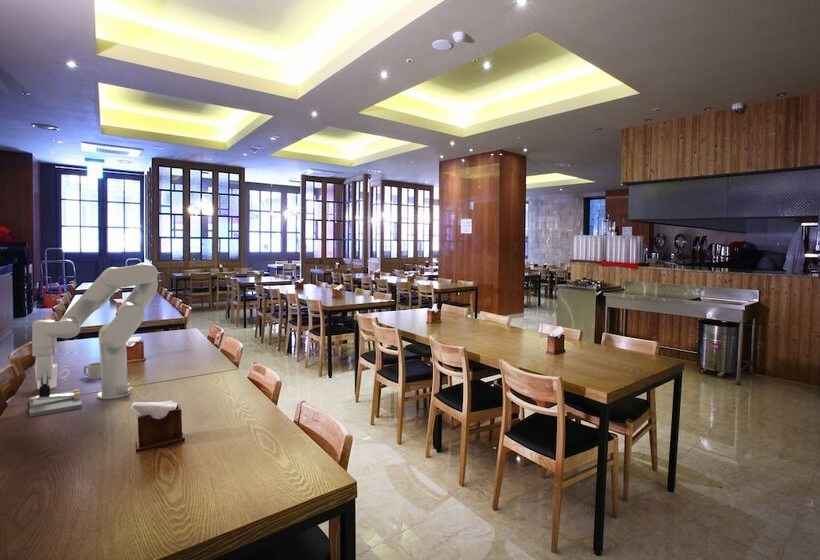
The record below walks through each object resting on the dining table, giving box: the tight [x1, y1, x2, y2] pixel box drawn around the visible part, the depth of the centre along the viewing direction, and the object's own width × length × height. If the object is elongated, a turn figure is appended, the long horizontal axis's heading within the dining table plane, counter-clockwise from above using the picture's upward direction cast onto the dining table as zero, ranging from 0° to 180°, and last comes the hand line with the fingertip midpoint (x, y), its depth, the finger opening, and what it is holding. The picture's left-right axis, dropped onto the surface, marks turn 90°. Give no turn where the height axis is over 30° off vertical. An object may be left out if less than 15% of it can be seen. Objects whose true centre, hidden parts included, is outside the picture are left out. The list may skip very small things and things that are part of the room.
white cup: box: [35, 363, 58, 390], centre depth 203 cm, size 8×8×10 cm
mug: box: [83, 362, 101, 380], centre depth 219 cm, size 10×7×7 cm
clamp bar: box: [35, 393, 74, 400], centre depth 183 cm, size 14×3×1 cm, turn 130°
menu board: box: [28, 388, 83, 418], centre depth 182 cm, size 16×22×4 cm
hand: (44, 396), depth 180 cm, fingers closed
